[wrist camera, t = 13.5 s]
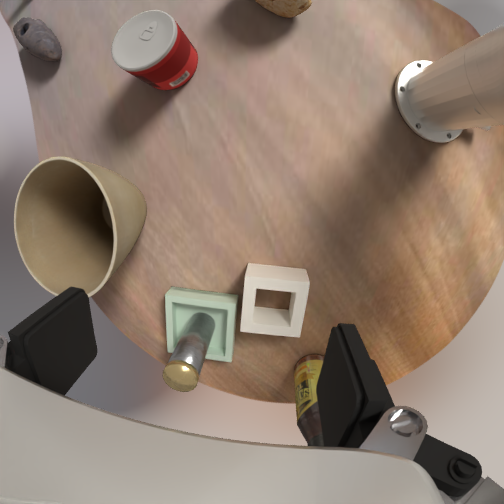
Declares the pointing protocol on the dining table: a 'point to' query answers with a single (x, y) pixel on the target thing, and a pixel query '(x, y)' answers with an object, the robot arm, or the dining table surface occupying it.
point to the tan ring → (285, 6)
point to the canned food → (155, 50)
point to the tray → (212, 303)
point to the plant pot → (76, 223)
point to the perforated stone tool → (38, 39)
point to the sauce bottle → (308, 398)
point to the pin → (190, 353)
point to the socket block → (272, 318)
